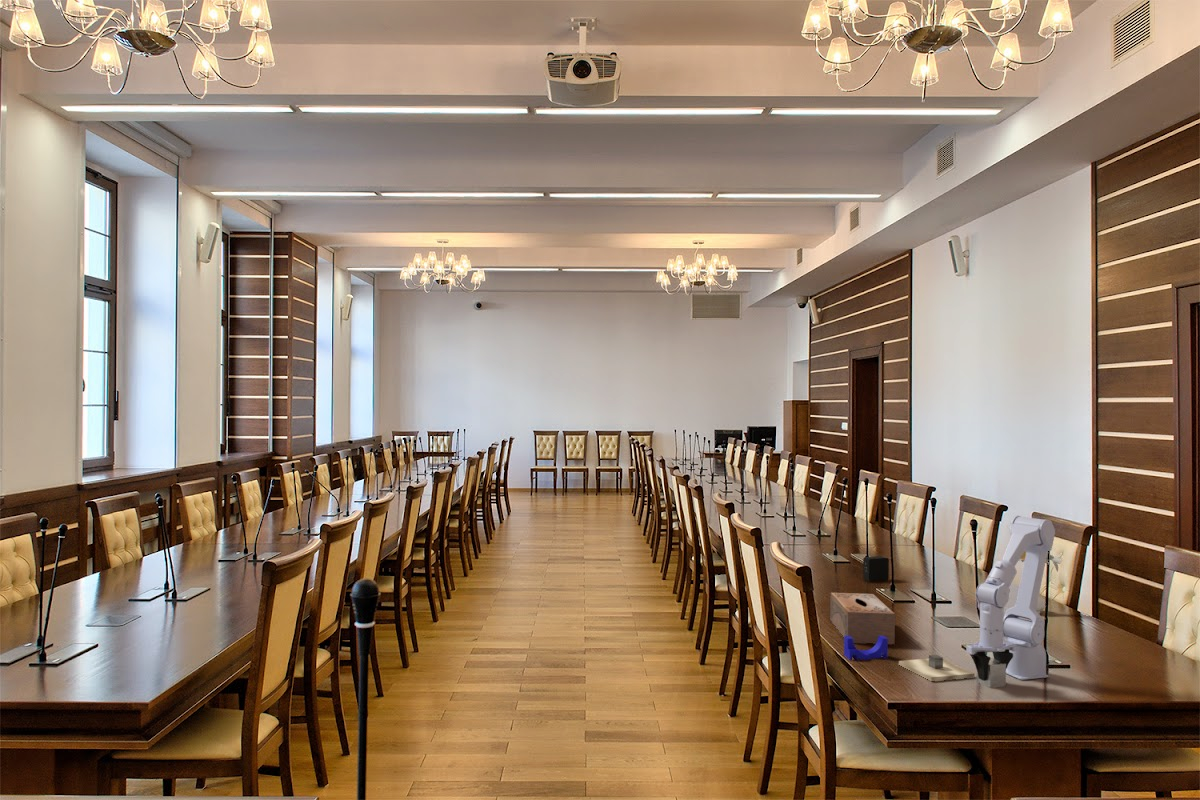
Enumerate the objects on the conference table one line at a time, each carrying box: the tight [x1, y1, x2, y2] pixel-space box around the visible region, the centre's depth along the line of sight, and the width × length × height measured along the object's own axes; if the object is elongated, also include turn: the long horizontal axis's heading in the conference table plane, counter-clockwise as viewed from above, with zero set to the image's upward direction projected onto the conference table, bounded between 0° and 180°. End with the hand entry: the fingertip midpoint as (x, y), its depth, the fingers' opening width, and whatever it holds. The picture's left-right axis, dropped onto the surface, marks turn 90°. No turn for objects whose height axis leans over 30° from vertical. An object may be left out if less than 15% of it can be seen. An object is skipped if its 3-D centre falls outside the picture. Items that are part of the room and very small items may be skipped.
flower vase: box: [1018, 550, 1063, 615], centre depth 287 cm, size 13×18×25 cm
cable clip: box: [843, 636, 889, 661], centre depth 232 cm, size 12×4×6 cm, turn 93°
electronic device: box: [862, 555, 890, 583], centre depth 336 cm, size 4×10×10 cm, turn 107°
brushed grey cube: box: [976, 657, 1007, 689], centre depth 211 cm, size 5×5×6 cm
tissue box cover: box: [829, 592, 896, 645], centre depth 259 cm, size 26×14×10 cm, turn 175°
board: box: [898, 657, 975, 682], centre depth 221 cm, size 14×14×1 cm
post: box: [928, 654, 944, 669], centre depth 221 cm, size 3×3×3 cm
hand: (991, 678), depth 211 cm, fingers closed on brushed grey cube, 5 cm apart
